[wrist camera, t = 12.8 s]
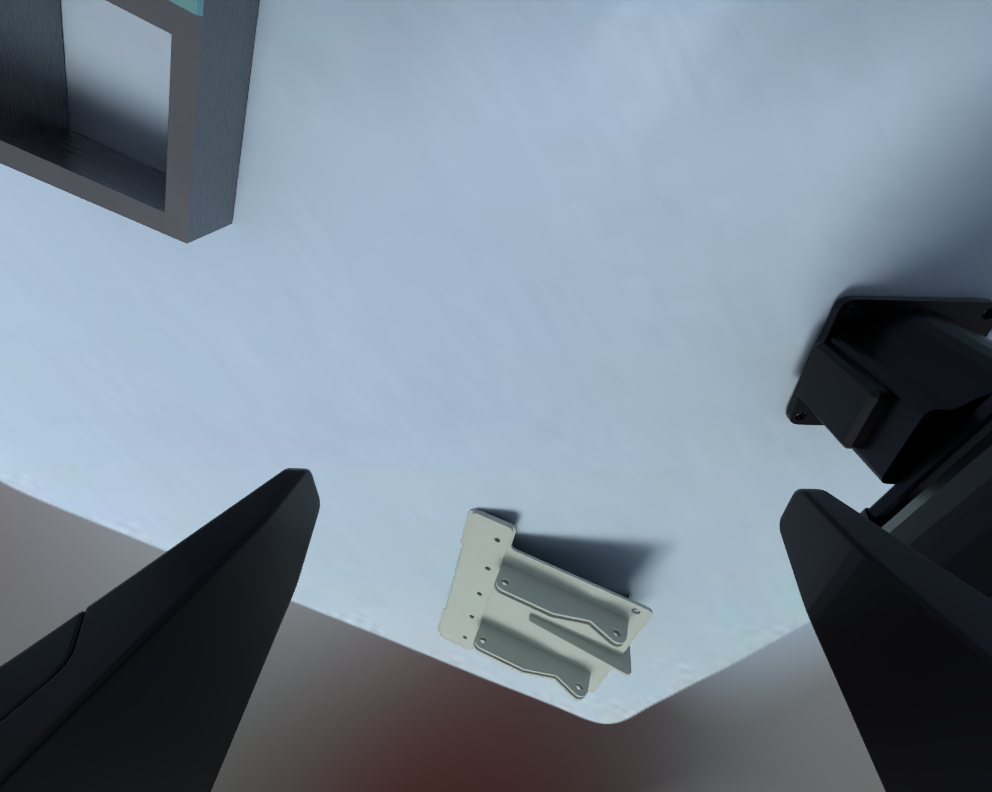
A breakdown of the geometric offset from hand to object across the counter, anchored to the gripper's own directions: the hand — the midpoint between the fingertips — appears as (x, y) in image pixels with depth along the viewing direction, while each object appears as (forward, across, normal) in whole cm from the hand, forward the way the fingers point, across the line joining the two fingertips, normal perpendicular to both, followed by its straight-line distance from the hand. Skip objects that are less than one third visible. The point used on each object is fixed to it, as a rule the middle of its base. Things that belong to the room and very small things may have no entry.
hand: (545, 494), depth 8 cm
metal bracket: (+14, -1, +24) cm, 27 cm away
